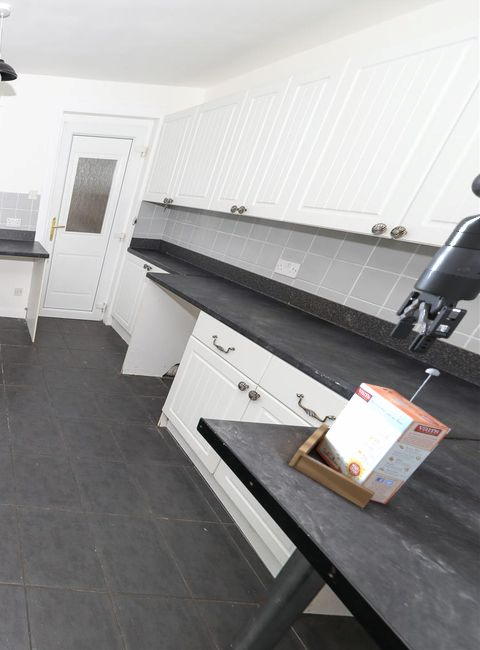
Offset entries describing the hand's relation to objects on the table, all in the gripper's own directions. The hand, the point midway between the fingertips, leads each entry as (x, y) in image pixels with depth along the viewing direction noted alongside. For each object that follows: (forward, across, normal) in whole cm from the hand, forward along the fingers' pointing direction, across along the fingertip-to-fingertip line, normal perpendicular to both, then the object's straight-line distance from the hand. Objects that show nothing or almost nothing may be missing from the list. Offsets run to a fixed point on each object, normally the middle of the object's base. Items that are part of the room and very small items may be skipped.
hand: (405, 344), depth 70 cm
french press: (+32, +10, -10) cm, 35 cm away
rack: (+31, -6, 0) cm, 32 cm away
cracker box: (+32, -6, -2) cm, 32 cm away
